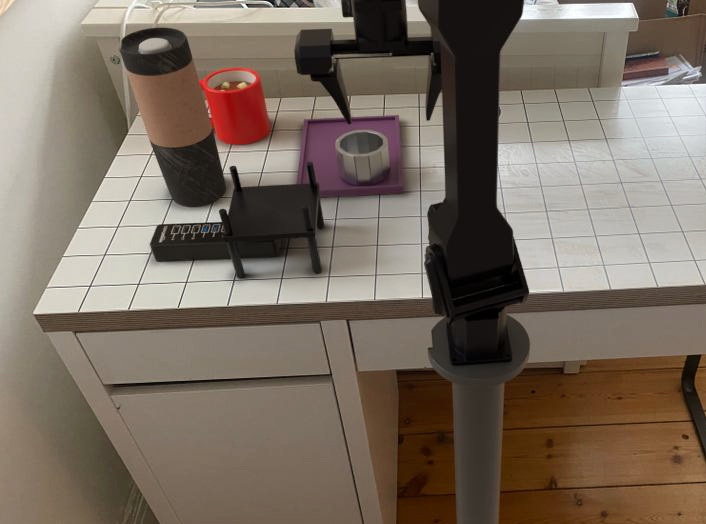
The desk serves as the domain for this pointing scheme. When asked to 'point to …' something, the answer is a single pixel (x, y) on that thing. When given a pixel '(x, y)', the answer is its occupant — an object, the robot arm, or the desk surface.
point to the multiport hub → (203, 243)
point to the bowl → (363, 157)
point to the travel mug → (174, 114)
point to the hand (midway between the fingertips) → (389, 120)
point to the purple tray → (323, 155)
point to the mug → (236, 105)
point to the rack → (273, 216)
